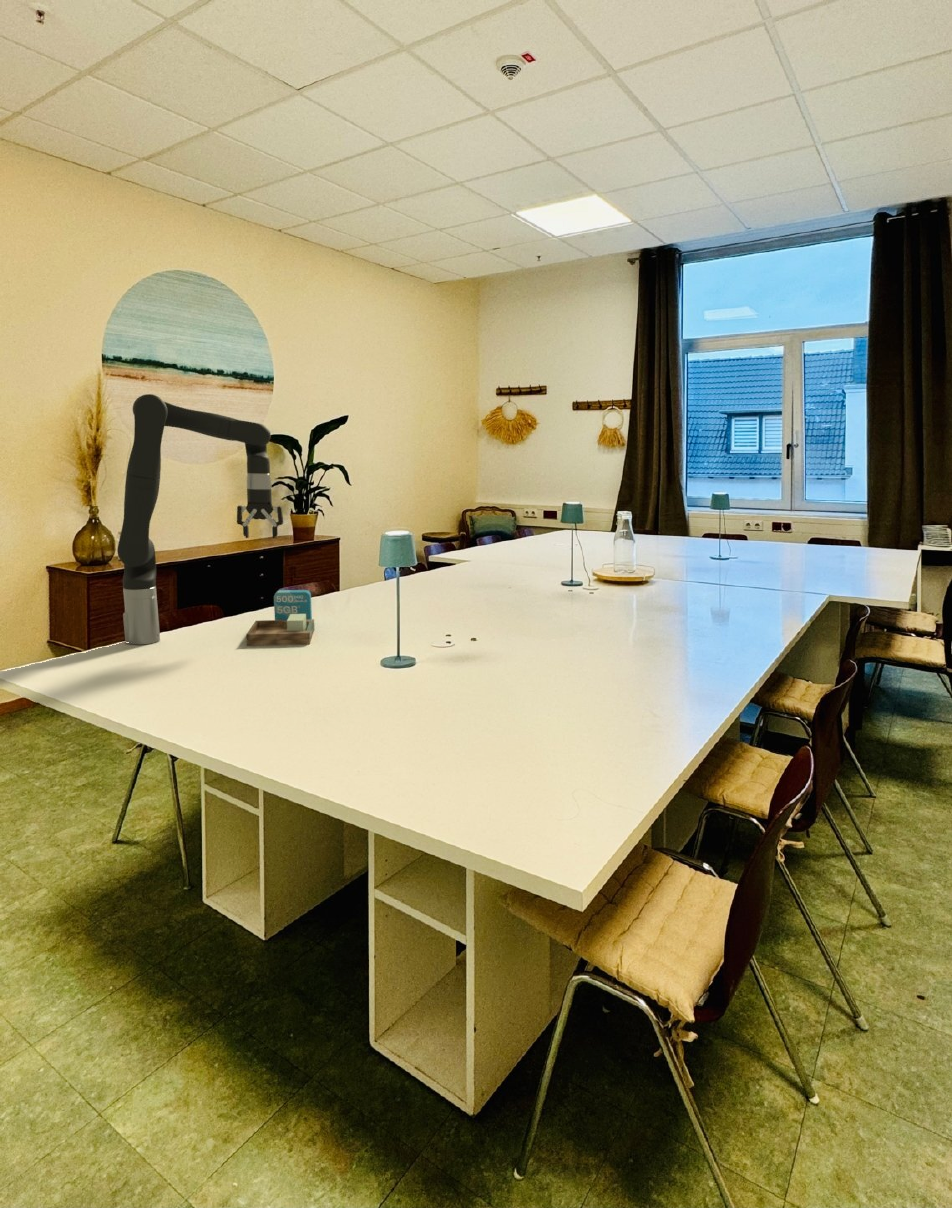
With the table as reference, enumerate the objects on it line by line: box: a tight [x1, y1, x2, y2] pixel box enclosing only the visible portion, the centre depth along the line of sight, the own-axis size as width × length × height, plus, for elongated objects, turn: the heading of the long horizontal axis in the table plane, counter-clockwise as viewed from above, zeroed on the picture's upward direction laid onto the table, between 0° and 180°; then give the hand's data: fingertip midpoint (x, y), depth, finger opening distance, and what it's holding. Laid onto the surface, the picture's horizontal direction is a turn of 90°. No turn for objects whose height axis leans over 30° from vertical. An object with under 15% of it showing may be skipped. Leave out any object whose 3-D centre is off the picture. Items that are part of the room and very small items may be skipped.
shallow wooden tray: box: [246, 618, 315, 647], centre depth 234 cm, size 19×20×4 cm
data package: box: [273, 589, 313, 620], centre depth 250 cm, size 12×4×12 cm, turn 97°
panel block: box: [287, 614, 307, 631], centre depth 234 cm, size 5×10×5 cm, turn 8°
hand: (260, 538), depth 236 cm, fingers open, 8 cm apart
